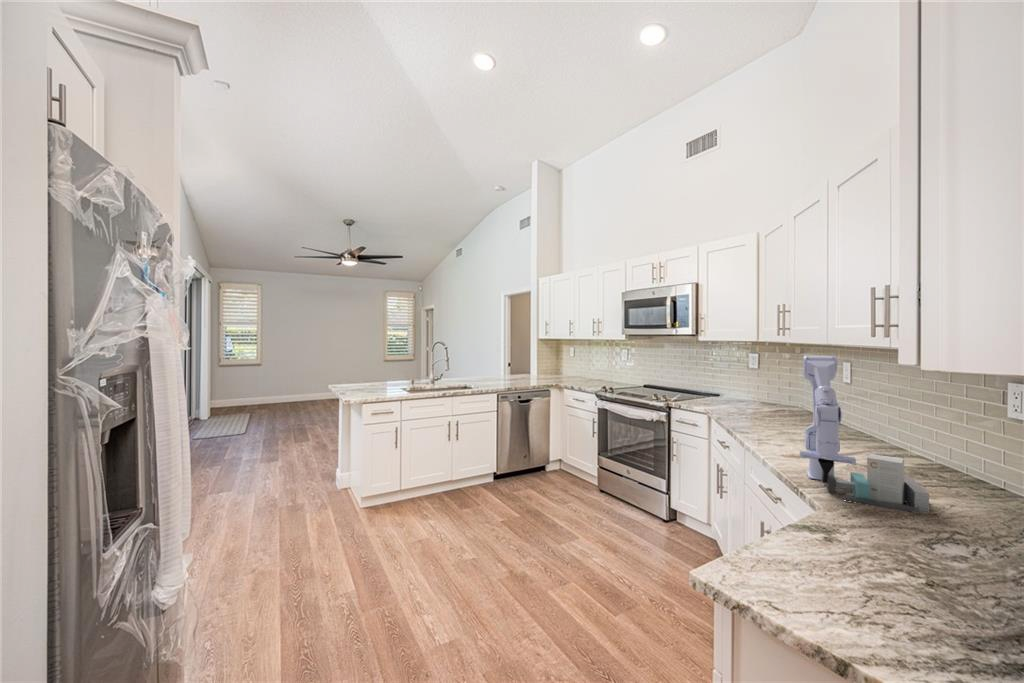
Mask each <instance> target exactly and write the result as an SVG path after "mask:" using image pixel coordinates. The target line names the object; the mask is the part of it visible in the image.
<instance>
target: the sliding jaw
mask: <svg viewBox="0 0 1024 683" xmlns="http://www.w3.org/2000/svg"><path fill="white" fill-rule="evenodd" d="M834 476H835V474H834V475H833V474H828V477H827V483H824V485H825V487H826V489H827V491H828V492H832V493H836V492H837V488H842V489H849V490H851V492H852V494H853V495H854V497H859V498H866V499H871V484H870V483H869V482H868V481H867V478H866V476H865V475H864V473H858V472H850V481H847V480H839V479H837V478H836V479H837V480H836V479H835V477H836V476H835V477H834Z"/></svg>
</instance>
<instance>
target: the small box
mask: <svg viewBox="0 0 1024 683" xmlns="http://www.w3.org/2000/svg"><path fill="white" fill-rule="evenodd" d="M866 463H867V464H866V468H867V470H866V471H867V474H866V475H867V478H866V479H867V481H868V482H869V483H870V484H871V499H873V500H879V501H886V502H893V503H899V504H905V503H904V502H905V501H904V500H905V482H904V477H905V459H904V458H900V457H893V456H886V455H881V454H880V455H879V454H873V453H870V454H869V455H868V456H867V458H866Z"/></svg>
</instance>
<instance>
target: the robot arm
mask: <svg viewBox="0 0 1024 683" xmlns="http://www.w3.org/2000/svg"><path fill="white" fill-rule="evenodd" d="M802 370H803V373H802V374H803V378H804V379H805V380H807V381H809V382H810V386H811V395H812V396H811V397H812V419H813V420H812V421H813V424H812V425H811V424H810V426H808V427H806V428H805V430H804V435H803V436H804V448H805V449H806V450H799V458H802V459H804V458H806V459H808V463H809V465H808V469H806V473H807V476H808V478H809V479H812V480H820V481H821V482H822V483H823V484H825V483H827V477H828V474H833V475H834V477H835V479H836V480H838V479H837V477H836V475H835V463H844V464H850V465H852V466H853V465H855V466H857V465H856V464H857V459H856V457H854V456H848V455H843V454H839V453H840V450H841V441H840V437H839V432H840V431H839V430H840V429H839V427H840V426H839V425H840V424H841V421H842V413H843V412H842V408H841V405H840V403H838V399H837V394H836V390H835V389H833V388H832V387H831V381H833V380H835V378H836V376H837V371H838V358H837V357H836V356H835V355H804V356H803V357H802Z"/></svg>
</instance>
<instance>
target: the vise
mask: <svg viewBox="0 0 1024 683" xmlns="http://www.w3.org/2000/svg"><path fill="white" fill-rule="evenodd" d="M904 482H905V500H904V502H905V503H903V504H899V503H893V502H886V501H879V500H873V499H866V498H859V497H855V496H851V495H844V494H843V495H842V498H843V499H844V500H846V501H851V502H850V503H852V502H856V503H855V504H858V503H861V504H860V505H865V504H868V505H867V506H871V505H873V506H872V507H878V508H883V509H884V508H885V509H890V510H899V511H904V512H911V513H917V514H923V513H924V515H930V493H929V492H928V491H927V490H926V489H925V488H923V486H921V485H920V484H919V483H918V482H917V480H915V479H914V478H913V477H912V476H904ZM843 499H842V500H843ZM844 500H843V501H844ZM846 501H845V502H846Z"/></svg>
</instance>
